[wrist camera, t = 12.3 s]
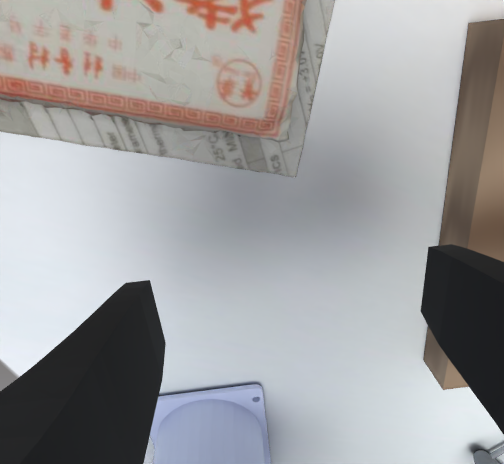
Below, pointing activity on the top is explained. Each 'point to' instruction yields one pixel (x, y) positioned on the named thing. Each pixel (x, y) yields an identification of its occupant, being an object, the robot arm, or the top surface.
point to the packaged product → (166, 76)
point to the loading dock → (475, 168)
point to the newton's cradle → (487, 456)
